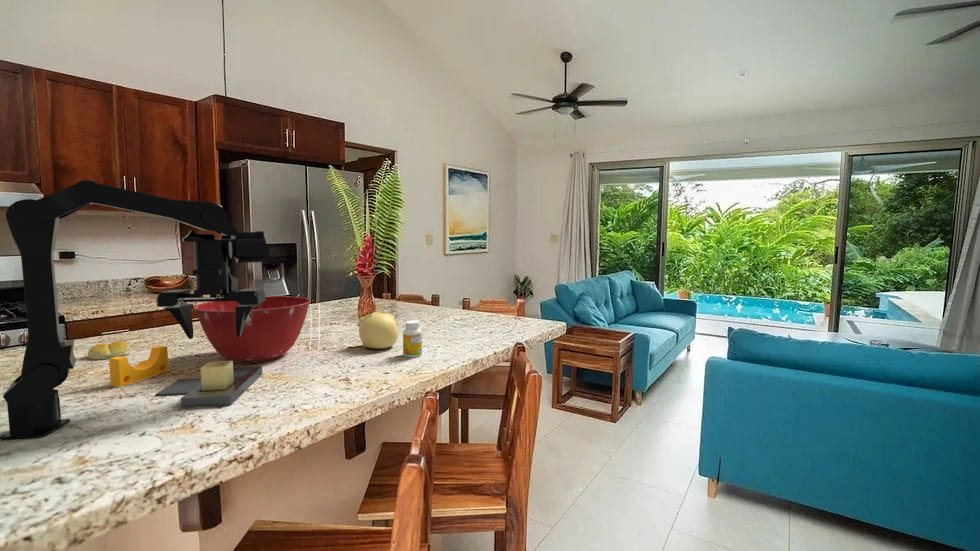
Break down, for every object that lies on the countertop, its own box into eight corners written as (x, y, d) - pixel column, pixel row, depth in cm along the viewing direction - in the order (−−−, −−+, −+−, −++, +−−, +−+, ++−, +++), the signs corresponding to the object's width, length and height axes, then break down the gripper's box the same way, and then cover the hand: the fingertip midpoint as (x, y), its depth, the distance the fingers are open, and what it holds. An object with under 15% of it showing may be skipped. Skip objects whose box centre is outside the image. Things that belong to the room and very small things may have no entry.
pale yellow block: (226, 399, 92) (224, 366, 92) (202, 400, 92) (200, 367, 91) (234, 391, 97) (232, 360, 96) (211, 392, 96) (210, 361, 95)
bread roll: (90, 355, 124) (89, 341, 124) (131, 351, 129) (130, 337, 129) (85, 362, 117) (84, 348, 117) (129, 357, 123) (127, 343, 122)
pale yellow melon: (392, 340, 144) (391, 307, 143) (403, 349, 134) (402, 314, 133) (356, 344, 139) (355, 310, 138) (364, 353, 128) (364, 317, 127)
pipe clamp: (154, 370, 111) (152, 345, 111) (168, 371, 111) (167, 346, 110) (104, 386, 100) (102, 358, 99) (120, 387, 99) (118, 359, 98)
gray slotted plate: (230, 405, 89) (230, 395, 89) (181, 408, 87) (180, 398, 87) (262, 374, 109) (262, 366, 109) (222, 376, 107) (222, 368, 107)
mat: (207, 393, 96) (207, 391, 96) (155, 395, 94) (155, 394, 94) (225, 378, 105) (225, 376, 105) (179, 380, 104) (179, 378, 103)
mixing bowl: (203, 349, 131) (200, 298, 129) (307, 340, 144) (305, 292, 142) (189, 377, 106) (186, 313, 104) (317, 363, 119) (315, 306, 117)
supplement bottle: (401, 353, 128) (400, 320, 128) (419, 351, 131) (419, 319, 130) (405, 358, 124) (405, 324, 123) (424, 356, 126) (424, 322, 125)
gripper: (271, 261, 101) (273, 328, 103) (180, 261, 98) (184, 331, 99) (255, 264, 90) (258, 339, 92) (152, 265, 87) (157, 343, 88)
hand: (215, 337), depth 93 cm, fingers open, 9 cm apart
